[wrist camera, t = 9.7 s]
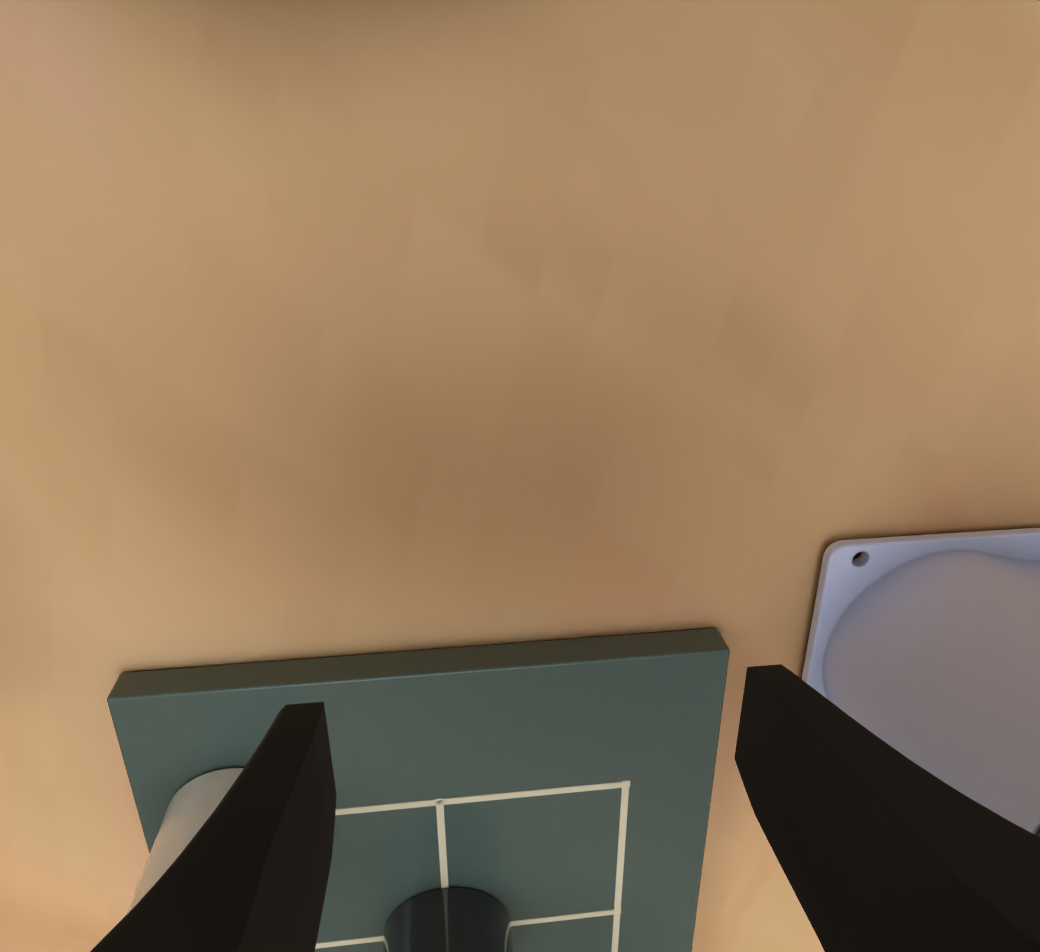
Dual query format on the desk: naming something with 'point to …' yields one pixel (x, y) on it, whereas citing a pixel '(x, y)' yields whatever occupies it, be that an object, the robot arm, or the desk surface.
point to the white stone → (183, 823)
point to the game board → (476, 776)
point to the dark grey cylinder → (449, 923)
